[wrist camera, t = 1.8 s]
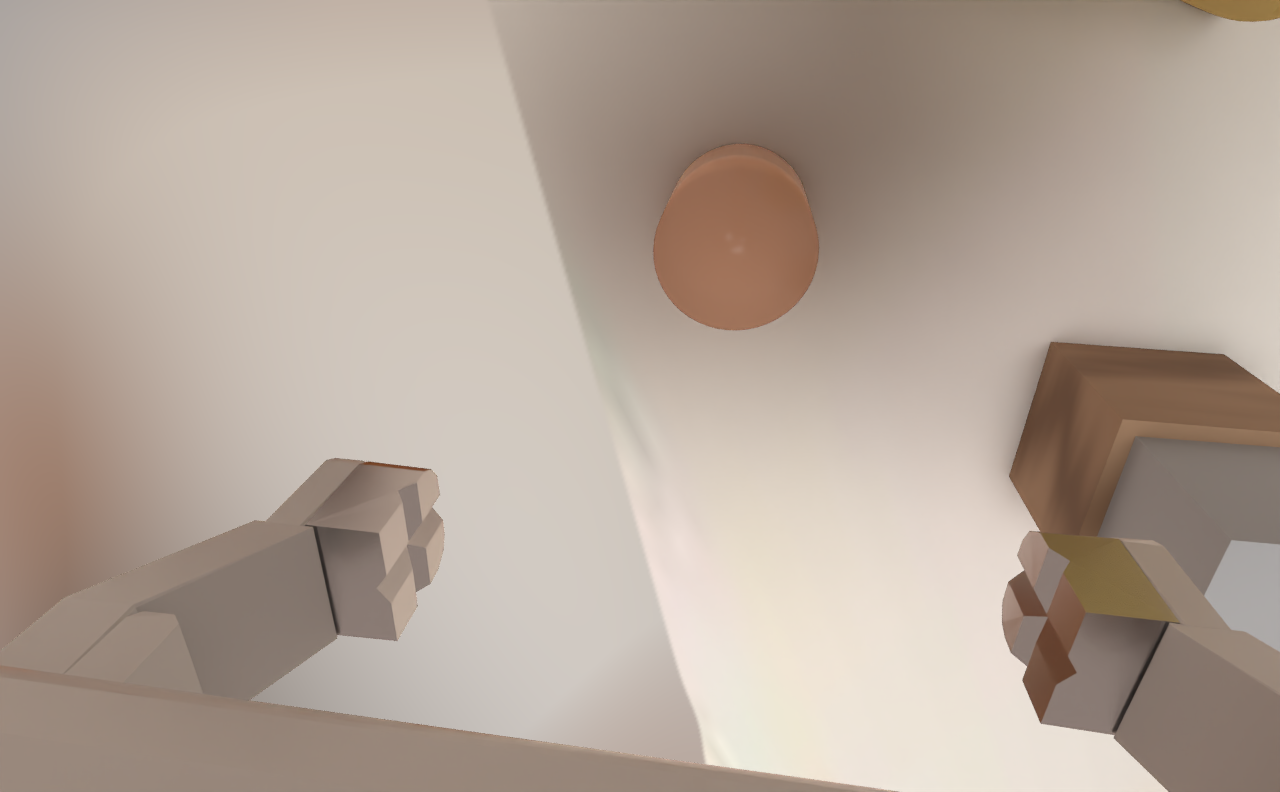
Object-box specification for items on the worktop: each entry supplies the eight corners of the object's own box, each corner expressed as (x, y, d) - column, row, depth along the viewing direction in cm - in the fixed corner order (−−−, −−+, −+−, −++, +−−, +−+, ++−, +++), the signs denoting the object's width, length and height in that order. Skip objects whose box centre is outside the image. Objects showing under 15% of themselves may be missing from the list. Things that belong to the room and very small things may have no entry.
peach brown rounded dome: (672, 140, 26) (656, 164, 21) (816, 147, 25) (830, 174, 21) (666, 276, 28) (650, 323, 24) (798, 285, 27) (807, 336, 23)
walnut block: (1050, 341, 27) (1122, 419, 22) (1223, 354, 26) (1340, 437, 21) (1008, 475, 30) (1063, 573, 25) (1164, 489, 29) (1255, 593, 24)
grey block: (1135, 436, 22) (1231, 540, 18) (1316, 450, 21) (1461, 560, 17) (1086, 564, 24) (1160, 684, 20) (1248, 580, 24) (1360, 707, 19)
